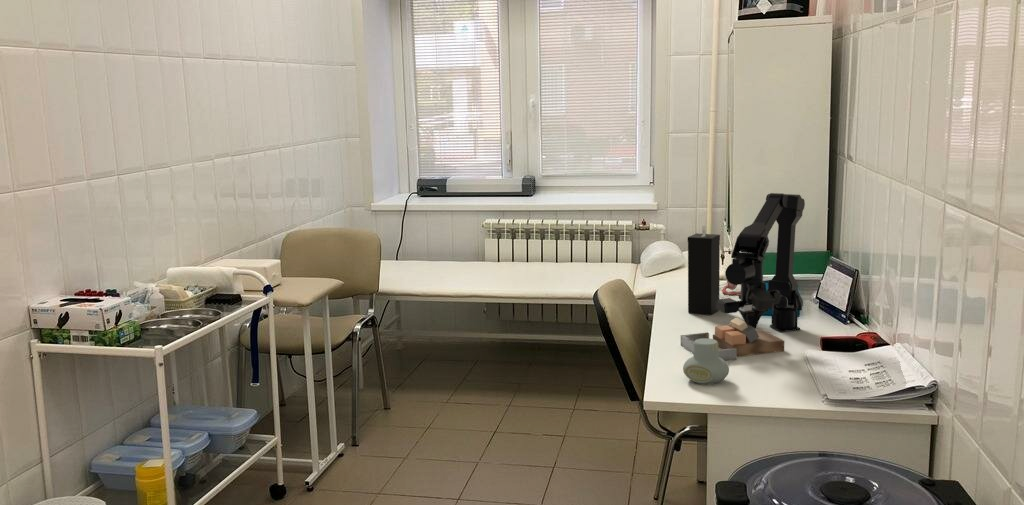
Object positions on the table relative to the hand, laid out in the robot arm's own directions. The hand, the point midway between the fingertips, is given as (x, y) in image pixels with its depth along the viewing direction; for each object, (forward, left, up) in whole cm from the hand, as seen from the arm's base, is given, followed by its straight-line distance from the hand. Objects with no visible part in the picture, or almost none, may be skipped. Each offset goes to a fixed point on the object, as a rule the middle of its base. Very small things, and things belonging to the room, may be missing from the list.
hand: (751, 333), depth 234 cm
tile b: (+6, +3, -1) cm, 7 cm away
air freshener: (+24, +21, -4) cm, 32 cm away
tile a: (+6, -3, -1) cm, 7 cm away
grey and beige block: (+2, 0, 0) cm, 2 cm away
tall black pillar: (-5, -41, -4) cm, 42 cm away
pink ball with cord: (-21, -60, -5) cm, 64 cm away
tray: (+13, 0, -4) cm, 14 cm away
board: (+1, 0, -4) cm, 4 cm away
